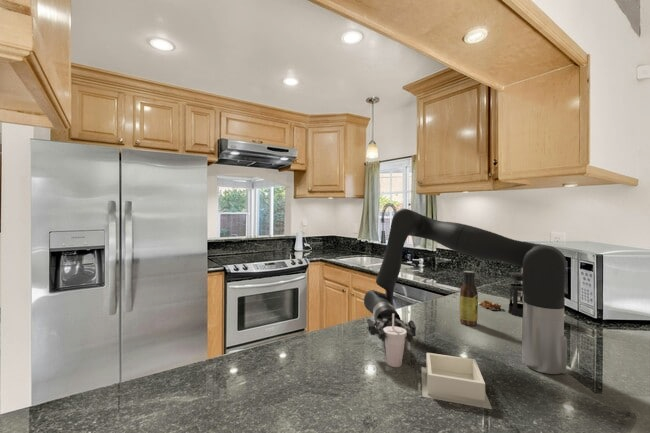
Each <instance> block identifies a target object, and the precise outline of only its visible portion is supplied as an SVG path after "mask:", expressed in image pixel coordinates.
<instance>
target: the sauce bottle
mask: <svg viewBox="0 0 650 433" xmlns="http://www.w3.org/2000/svg"><path fill="white" fill-rule="evenodd" d="M462 276H463V284H462V285H461V287H460V290H459V292H460V294H459V322H460V323H461V324H463V325H465V326H470V327H471V326H472V327H473V326H476V325H477V324H478V319H479V315H478V314H479V313H478V312H479V311H478V310H479V304H478V303H479V301H478V300H479V299H478V298H479V293H478V292H479V291H478V289H477V286H476V283H475V276H476V272H475V271H471V270H463V272H462Z"/></svg>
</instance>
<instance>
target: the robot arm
mask: <svg viewBox="0 0 650 433" xmlns="http://www.w3.org/2000/svg"><path fill="white" fill-rule="evenodd" d="M409 236H410V237H417V238H420V239H421V238H422V239H427V240H429V241H434V242H435V243H437V244H439V245H441V246H443V247H445V248H448V249H449V250H452V251H454V252H457V253H461V254H463V255H467V256H470V257H473V258H479V259H485V260H490V261H491V260H493V261H498V262H499V261H500V262H503V263H507V264H511V265H514V266H516V267H519V268H521V269H522V268H523V275H522V290H523V291H522V296H523V297H524V298H523V303H522V304H523V317H522V333H521V334H522V337H521V338H522V341H521V343H522V344H521V347H522V348H521V361H522V363H523V364H525V365H526V366H527V368H529V369H530V370H532V371H533V370H534V371H537V372H539V373H543V374H547V375H559V374H565V375H566V374H567V354H568V353H567V351H568V338H567V336H565V334H564V332H565V331H564V330H565V329H564V328H565V302H566V301H565V300H566V299H565V283H566V282H565V280H566V278H565V275H566V267H567V259H566V257H565V254H563V252H562V251H560V250H559V249H557V248H556V247H554V246H551V245H545V244H538V243H531V242H527V241H522V240H521V241H520V240H517V239H512V238H509V237H506V236H503V235H501V234H498V233H495V232H493V231H489V230H487V229H482V228H479V227H476V226H473V225H468V224H465V223H461V222H460V223H459V222H451V221H442V220H441V221H440V220H437V219H434V218H431V217H428V216H425V215H424V214H421V213H419V212H416V211H415V210H411V209H408V208H401V209H398V210H397V211H396V212H395V213H394V214H393V216H392V218H391V223H390V230H389V235H388V239H387V245H386V249H385V252H384V254H383V259H382V262H381V265H380V267H379V270H378V273H377V276H376V278H375V283H376V285H378V287H380V288H382V289H383V290H385V293H382V292H381V291H377V290H374V289H371V290H368V291H367V292H366V293H365V294H364V296H363V297H364V298H363V305H364V307H365V308H366V310H368V312H370V313H371V314H372V317H373V320H372V319H370V318H368V319H366V329H367V330H368V333H369V334H370V335H371V336H375V335H376V336H377V337H378V339H379V340H380V341H382V342H385V332H384V330H383V329H384V328H385V327H388V326H392V314H394V326H397V327H401V328H404V329H405V330H406V331H407V336H406V337H405V340H406V341H407V342H408V343H411V342H412V341H413V340H414V337H416V336H417V334H416V333H417V332H416V329H417V326H416V324H415V322H414V321H413V320H408V321H407V322H404V321H403V319H401V316H400V315H399V313H398V311H397V310H396V308H395V307H394V306H393V305H394V304H393V302H394V291H395V285H396V284H397V281H398V279H399V278H398V277H399V275H400V272H401V267H402V258H403V257H402V256H403V249H404V247H405V243H406V241H407V239H408V237H409Z"/></svg>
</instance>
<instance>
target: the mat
mask: <svg viewBox="0 0 650 433" xmlns="http://www.w3.org/2000/svg"><path fill="white" fill-rule="evenodd" d="M420 370H421V371H420V372H421V394H422V395H421V397H422V398H428V399H433V400H438V401H443V402H449V403H456V404H462V405H467V406H471V407H478V408H484V409H488V410H492V409H493V407H492V405H491V402H490V400H489V398H488V394H487V393H486V391H485V405H484V404H478V403H473V402H467V401H461V400H456V399H450V398H445V397H439V396H434V395H428V390H427V375H426V366H421V367H420Z"/></svg>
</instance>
